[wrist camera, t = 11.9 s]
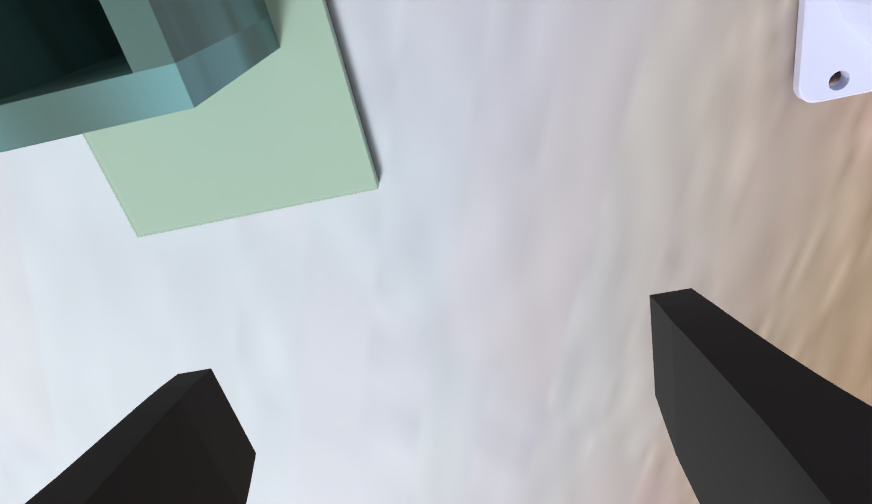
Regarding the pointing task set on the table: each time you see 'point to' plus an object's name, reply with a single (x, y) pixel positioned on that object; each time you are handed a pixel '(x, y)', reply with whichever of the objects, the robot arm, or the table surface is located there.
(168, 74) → the collar
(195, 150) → the end mat
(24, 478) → the table surface
